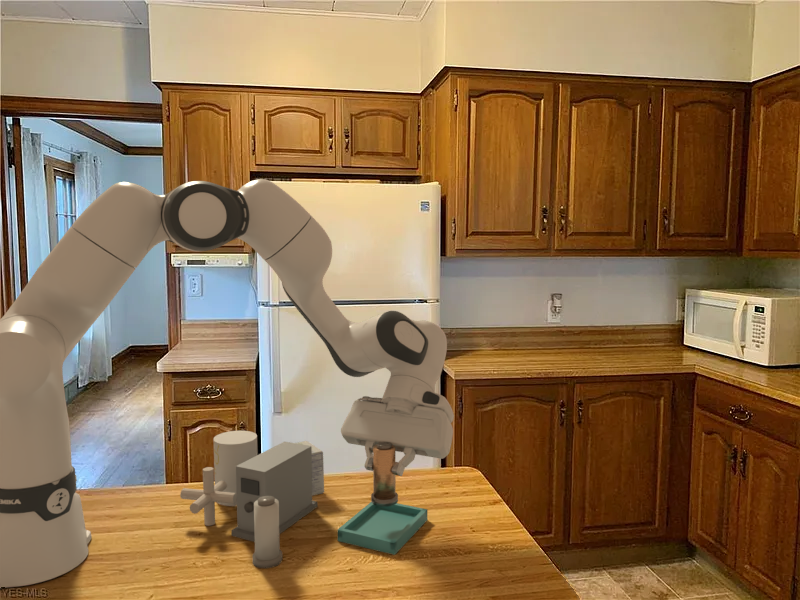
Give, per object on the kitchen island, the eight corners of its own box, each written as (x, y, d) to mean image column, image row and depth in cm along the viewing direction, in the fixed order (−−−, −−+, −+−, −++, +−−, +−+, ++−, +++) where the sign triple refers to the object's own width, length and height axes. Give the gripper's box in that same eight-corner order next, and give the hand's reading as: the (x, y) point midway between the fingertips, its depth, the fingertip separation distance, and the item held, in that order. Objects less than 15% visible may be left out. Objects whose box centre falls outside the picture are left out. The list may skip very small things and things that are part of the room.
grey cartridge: (246, 564, 100) (244, 502, 99) (264, 550, 104) (263, 491, 103) (270, 571, 98) (269, 507, 97) (288, 557, 102) (287, 496, 101)
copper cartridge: (366, 503, 109) (366, 446, 108) (378, 493, 114) (378, 438, 112) (390, 508, 107) (390, 450, 106) (402, 498, 112) (402, 442, 110)
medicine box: (324, 493, 126) (324, 451, 125) (303, 498, 124) (303, 455, 123) (308, 480, 133) (307, 439, 132) (288, 484, 131) (287, 443, 130)
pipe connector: (222, 539, 108) (220, 482, 106) (168, 533, 110) (166, 477, 108) (248, 513, 117) (247, 461, 116) (198, 508, 119) (196, 456, 118)
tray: (337, 540, 107) (337, 529, 107) (374, 508, 119) (374, 498, 119) (394, 554, 103) (394, 542, 102) (427, 520, 115) (427, 509, 115)
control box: (231, 535, 109) (229, 467, 107) (286, 499, 123) (285, 439, 122) (265, 544, 106) (263, 474, 105) (317, 506, 120) (316, 444, 119)
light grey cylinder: (226, 487, 129) (224, 429, 128) (264, 490, 128) (263, 431, 126) (207, 504, 121) (205, 442, 120) (248, 507, 120) (246, 445, 119)
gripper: (350, 386, 119) (323, 454, 111) (454, 399, 110) (432, 473, 103) (362, 403, 124) (337, 469, 116) (462, 417, 115) (442, 489, 107)
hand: (382, 471), depth 109 cm, fingers closed on copper cartridge, 4 cm apart
